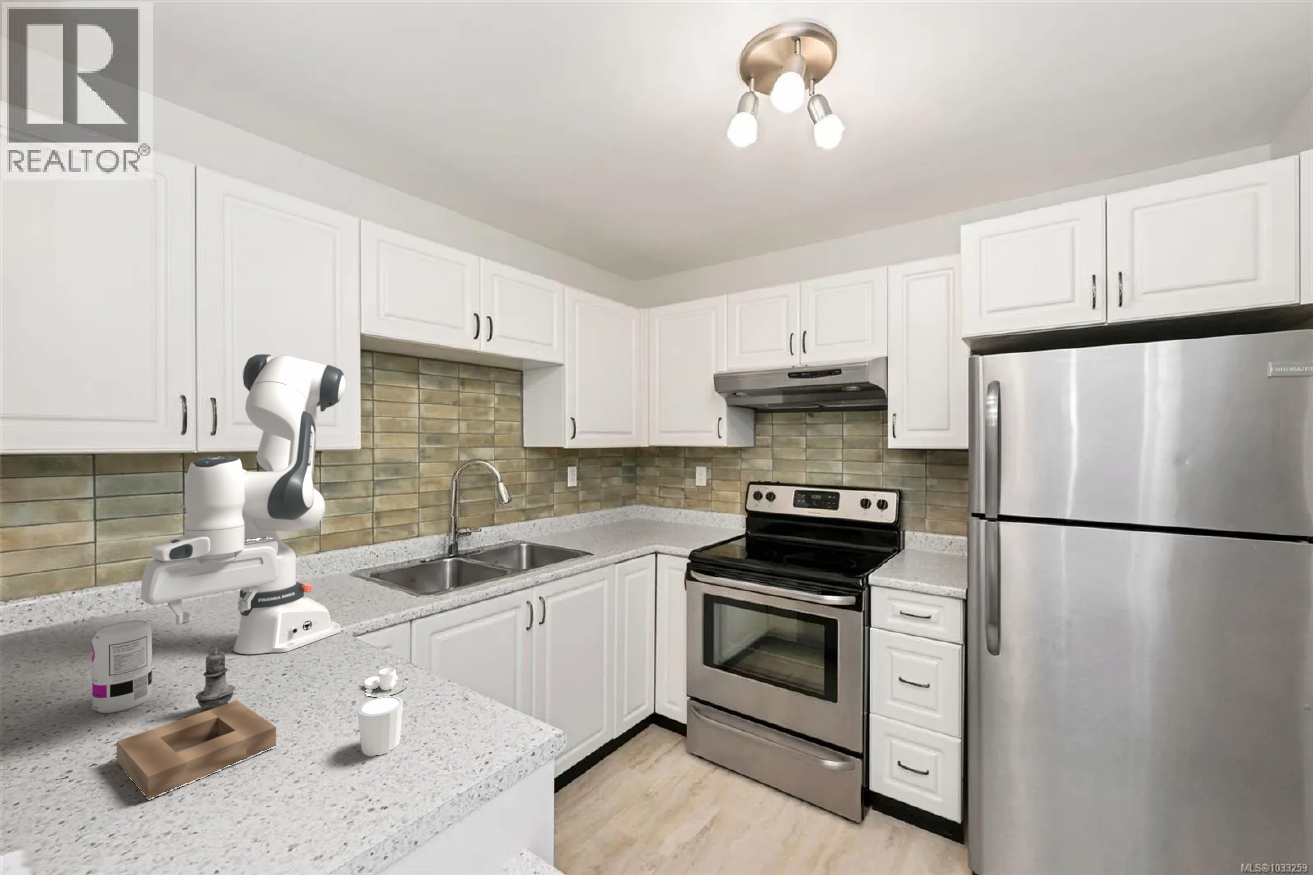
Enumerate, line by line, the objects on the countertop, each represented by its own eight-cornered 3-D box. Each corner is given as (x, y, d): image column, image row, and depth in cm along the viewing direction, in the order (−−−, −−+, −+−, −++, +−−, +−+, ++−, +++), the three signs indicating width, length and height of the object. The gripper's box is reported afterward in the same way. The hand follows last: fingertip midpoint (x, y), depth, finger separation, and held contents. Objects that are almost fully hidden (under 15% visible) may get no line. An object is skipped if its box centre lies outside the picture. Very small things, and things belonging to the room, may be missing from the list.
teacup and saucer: (358, 689, 113) (358, 669, 113) (398, 677, 119) (398, 658, 119) (372, 704, 107) (372, 683, 107) (414, 690, 112) (414, 671, 112)
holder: (237, 719, 100) (237, 700, 100) (276, 747, 91) (275, 726, 91) (116, 763, 87) (116, 741, 87) (148, 801, 78) (148, 777, 78)
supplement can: (80, 717, 101) (80, 636, 101) (111, 696, 109) (111, 621, 109) (134, 711, 103) (134, 632, 103) (161, 691, 111) (160, 617, 111)
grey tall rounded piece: (213, 720, 100) (212, 655, 100) (186, 717, 101) (186, 652, 101) (243, 705, 106) (243, 642, 105) (218, 701, 107) (218, 640, 107)
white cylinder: (391, 730, 97) (391, 691, 97) (410, 745, 92) (410, 703, 92) (350, 748, 91) (350, 706, 91) (368, 764, 87) (368, 720, 87)
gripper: (270, 533, 113) (270, 600, 113) (138, 549, 96) (137, 628, 96) (284, 536, 110) (284, 605, 110) (149, 553, 93) (148, 635, 93)
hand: (214, 616), depth 103 cm, fingers open, 8 cm apart
